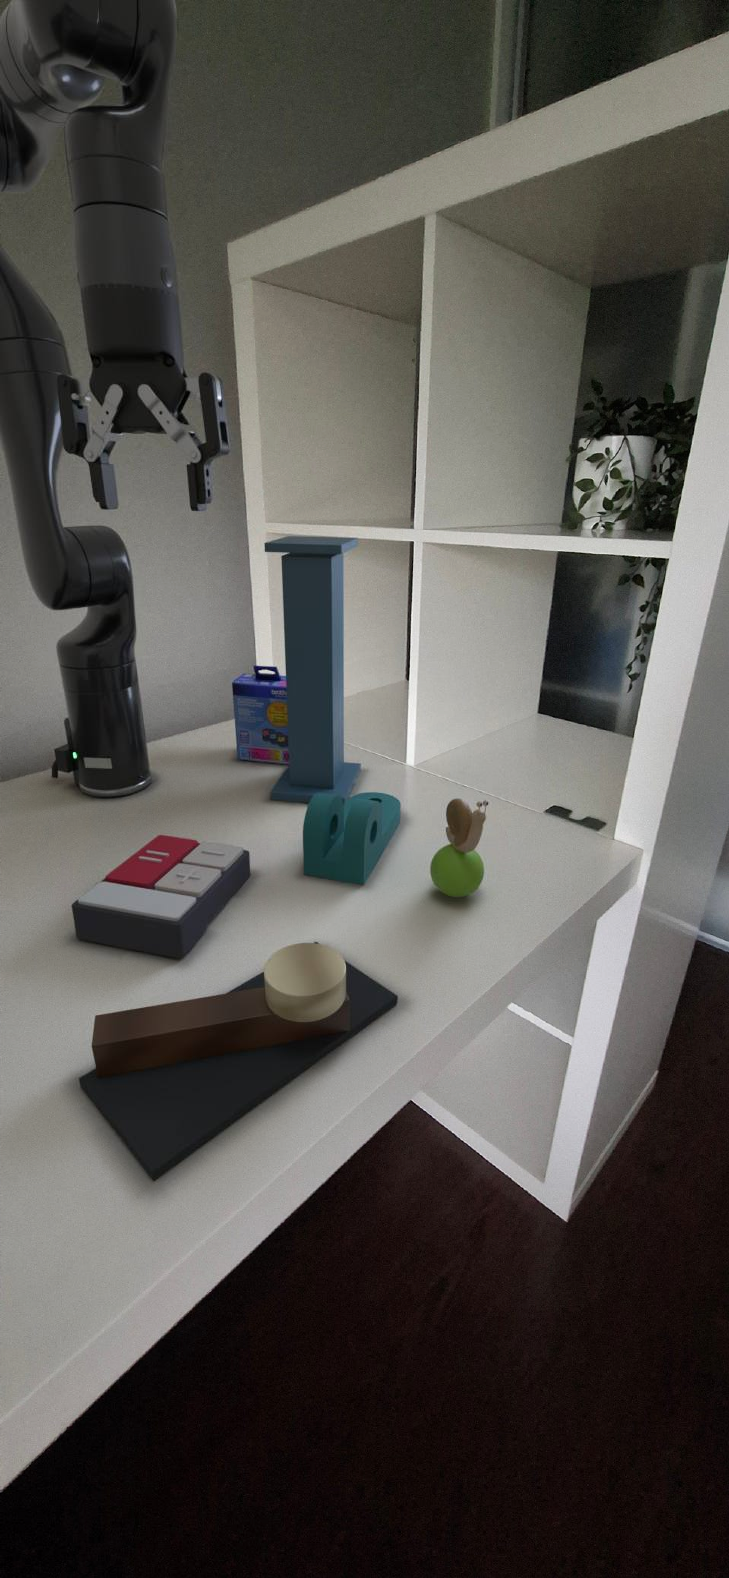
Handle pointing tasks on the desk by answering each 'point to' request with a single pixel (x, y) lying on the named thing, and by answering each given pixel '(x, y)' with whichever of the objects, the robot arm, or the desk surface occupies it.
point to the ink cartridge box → (261, 716)
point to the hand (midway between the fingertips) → (153, 510)
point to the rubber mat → (216, 1084)
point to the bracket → (347, 834)
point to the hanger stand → (314, 667)
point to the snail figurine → (460, 851)
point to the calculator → (162, 896)
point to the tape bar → (231, 1016)
